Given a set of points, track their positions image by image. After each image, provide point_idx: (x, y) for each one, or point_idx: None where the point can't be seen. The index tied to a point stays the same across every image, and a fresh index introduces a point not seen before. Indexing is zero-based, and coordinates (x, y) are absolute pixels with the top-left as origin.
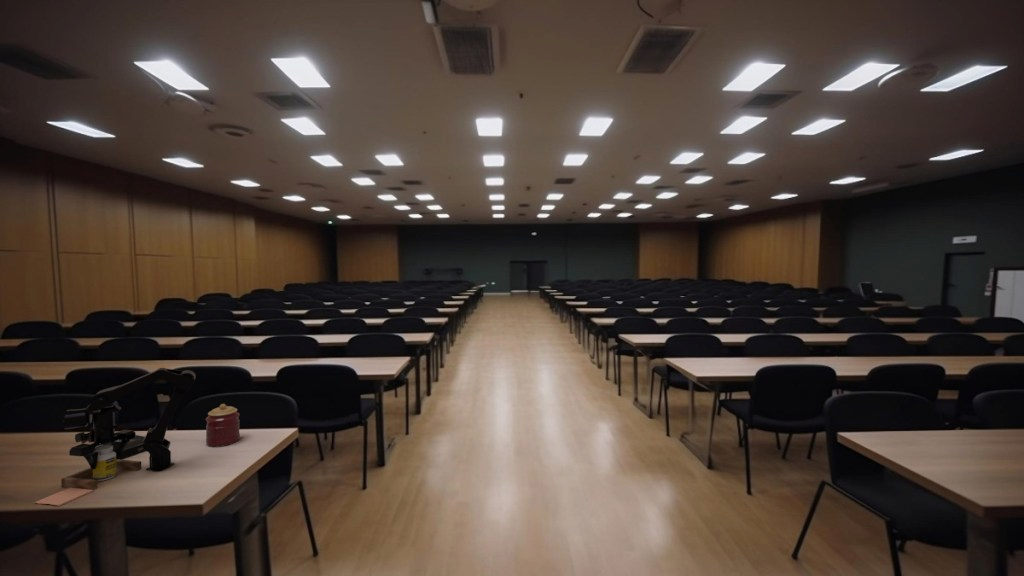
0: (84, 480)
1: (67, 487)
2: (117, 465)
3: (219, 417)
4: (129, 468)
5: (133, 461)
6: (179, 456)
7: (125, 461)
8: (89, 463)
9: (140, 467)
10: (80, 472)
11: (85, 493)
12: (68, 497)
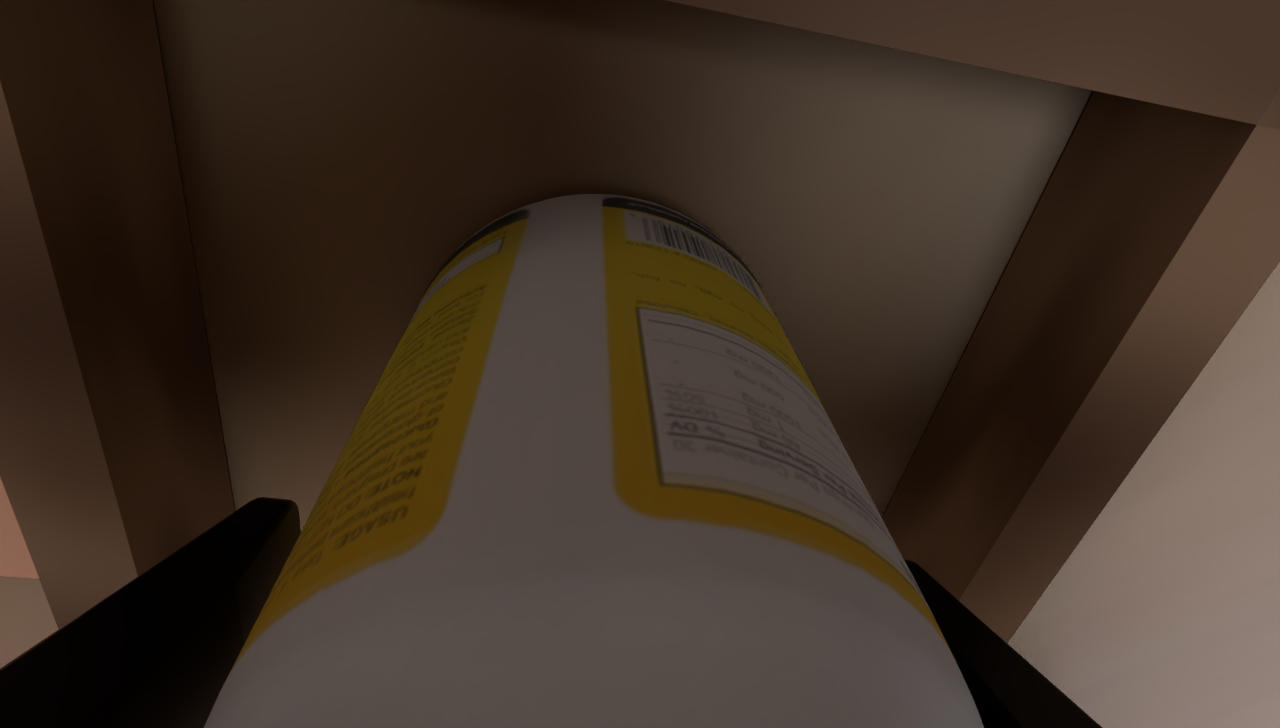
0: (44, 487)
1: None
2: (1059, 275)
3: None
4: (910, 500)
5: (990, 626)
6: (1230, 720)
7: (1046, 498)
8: (25, 696)
9: None
10: None
11: (12, 574)
12: None
